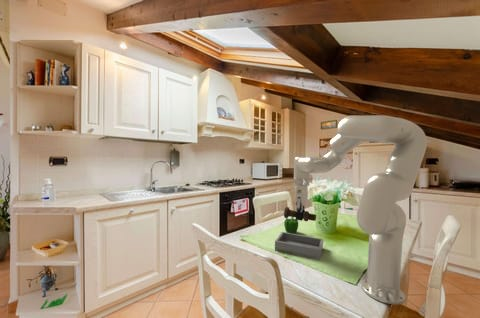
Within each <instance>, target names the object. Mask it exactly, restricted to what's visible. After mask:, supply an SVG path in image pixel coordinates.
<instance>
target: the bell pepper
mask: <svg viewBox="0 0 480 318" xmlns="http://www.w3.org/2000/svg"><path fill="white" fill-rule="evenodd" d="M283 222H284V229H285V232H286V233H291V234H296V233H297V232H298V228H299V220H296V218H294V217H291V218H285V220H284V221H283Z"/></svg>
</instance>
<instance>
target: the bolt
mask: <svg viewBox="0 0 480 318" xmlns="http://www.w3.org/2000/svg"><path fill="white" fill-rule="evenodd" d="M289 217H293V218H296V210H294V209H293V210H292V209H290V207H288V206H286V207H284V211H283V218H284V219H286V218H287V219H289ZM316 220H317V215H316V214H314V213H310V212H309V210H305V212H303V221H304V222H309V221H312V222H315V221H316Z"/></svg>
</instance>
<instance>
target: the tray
mask: <svg viewBox="0 0 480 318" xmlns="http://www.w3.org/2000/svg"><path fill="white" fill-rule="evenodd" d="M323 249H324V238H319V237H314V236H307V235H303V234H291V233H287V232H286V231H285V232H284V231H282V232H280V234H279V235H278V237H277V238H276V239H275V240H274V251H277V252H281V253H285V254H291V255H296V256H300V257H303V258H308V259H309V258H310V259H314V260H319V261H321V259H322V254H323V253H322V252H323Z"/></svg>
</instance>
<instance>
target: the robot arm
mask: <svg viewBox="0 0 480 318" xmlns="http://www.w3.org/2000/svg"><path fill="white" fill-rule="evenodd" d="M336 131H337V134H336V135H334V137H332V138H331V139H330V141H329V146H330V149H331V150H330V151H329V152H328V153H326V154H325V155H323V156H296V157H295V158H294V159H293V160H294V164H293V185H294V186H295V190H294V191H295V192H294V193H295V194H294V204H295V205H294V206H296V209H295V211H296V217H295V219H296V220H298V221H300V222H301V221H304V219H303V212H305V211H306V209H305V207H306V206H307V205H308V201H309V199H308V198H309V197H308V195H309V192H308V190H309V189H308V188H309V187H308V186H310V184H311V183H310V180H311V179H310V177H311V176H310V175H311V174H322V173H323V174H325V173H328V172H330V171H332V170H333V169H335V168H336V167H337V166H339V165H340V164H341V163H342V162H343V160H344V159H345V156H346V155H348V154H349V153H350V152H351V151H352V150H354V149H356V148H357V147H358V146H360V145H361V144H362V143H364V142H371V143H381V144H392V145H394V148H393V150H392V152H391V153H390V155H389V157H388V160H387V164H386V166H385V169H384V172H378V173H376V174H373V175H371V177H369V179H368V180H367V181H366V183H365V185H364V188H363V191H362V194H361V197H360V200H359V204H358V208H357V211H356V222H357V225H358V227H359V228H360V229H361V231H363V232H364V233H366V234H368V235H369V238H368V251H367V252H368V254H367V256H368V257H367V272H366V273H367V275H366V276H367V278H366V279H363V281H361V282H362V283H361V288H362V290H363V292H364V293H365V294H366V295H367V296H369V297H371V298H372V299H374V300H376V301H378V302H380V303H384V304H388V305H401V304H402V305H403V303H405V302H406V295H405V293H404V291H403V290H401V274H402V273H401V271H402V255H403V254H402V253H403V241H404V234H405V229H406V225H407V224H406V223H407V216H406V213H405V211H404V209H403V208H402V207H401V206H400V205H398V204H397V202H401V201H404V200H406V199H408V198H409V197H410V196H411V195H412V192H413V189H414V185H415V183H416V181H417V178H418V174H419V172H420V168H421V165H422V162H423V160H424V156H425V153H426V151H427V144H428V143H427V140H428V139H427V137H426V134H425V131H424V130H423V129H422V127H420V126H419V125H417V123H414V122H413V121H410V120H408V119H405V118H402V117H395V116H391V115H354V114H353V115H347V116H345V117H343V118H342V119H341V120H339V123H338V125H337V130H336Z"/></svg>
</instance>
